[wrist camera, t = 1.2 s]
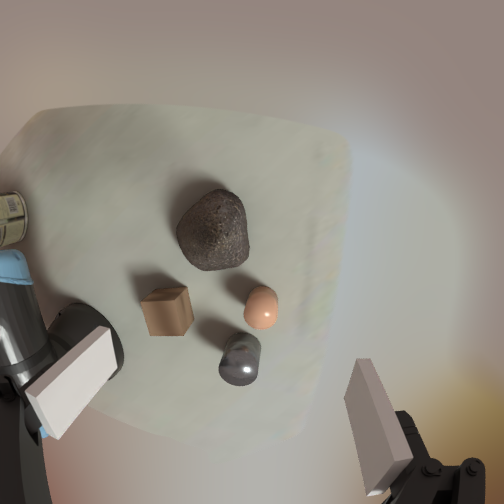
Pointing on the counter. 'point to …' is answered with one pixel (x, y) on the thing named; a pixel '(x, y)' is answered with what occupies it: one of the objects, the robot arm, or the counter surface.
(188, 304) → the walnut block
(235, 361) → the metal tin
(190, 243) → the stone
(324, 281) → the counter surface
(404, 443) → the robot arm
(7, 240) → the coffee can
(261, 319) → the peach rounded capsule
